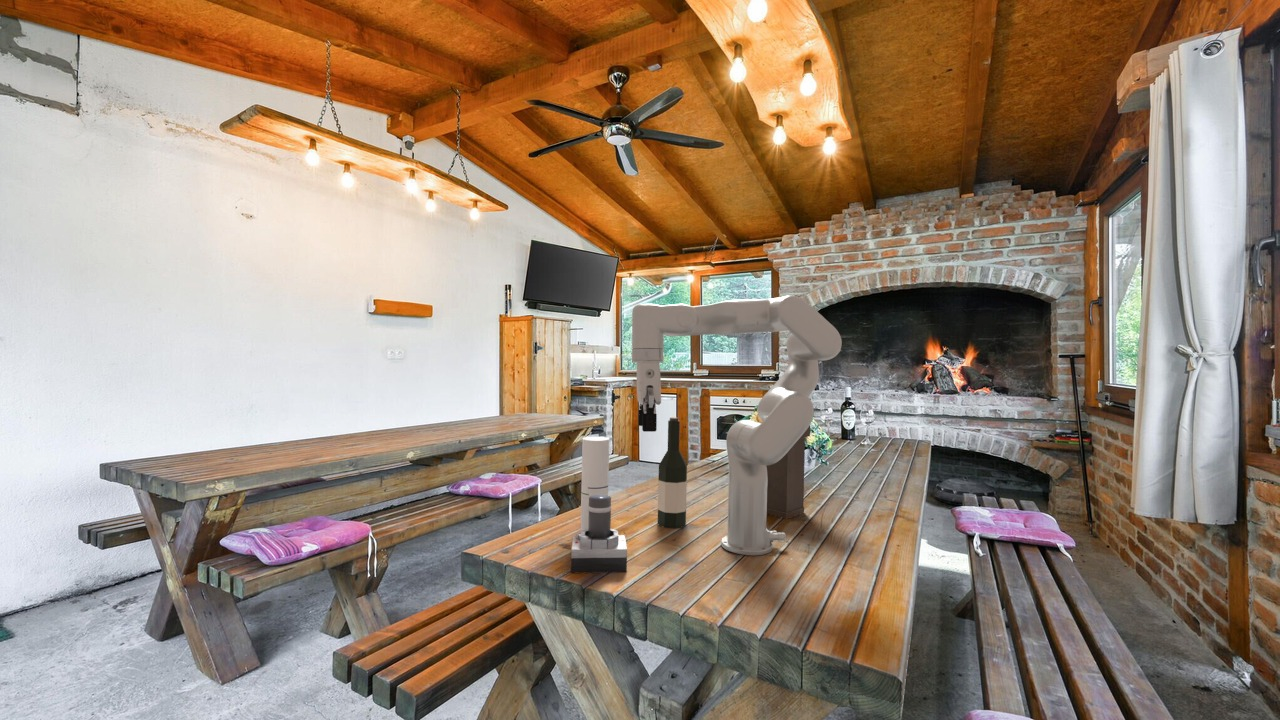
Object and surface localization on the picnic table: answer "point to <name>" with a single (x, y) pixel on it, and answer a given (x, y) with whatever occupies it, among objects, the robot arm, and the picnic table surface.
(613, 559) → the octagonal metal flange
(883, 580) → the picnic table surface
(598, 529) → the flashlight
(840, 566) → the picnic table surface
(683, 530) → the picnic table surface
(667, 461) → the wine bottle
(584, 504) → the cylindrical container
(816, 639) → the picnic table surface
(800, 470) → the brown footed pillar
